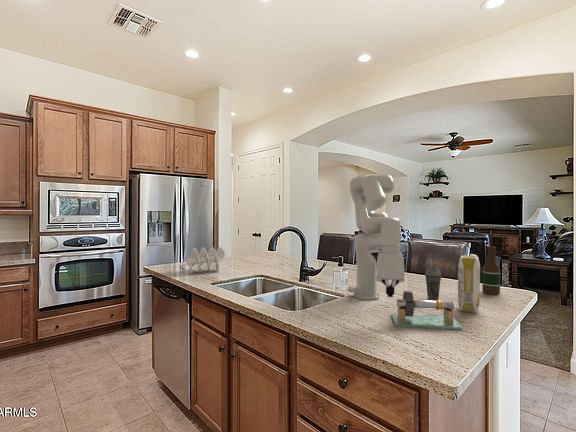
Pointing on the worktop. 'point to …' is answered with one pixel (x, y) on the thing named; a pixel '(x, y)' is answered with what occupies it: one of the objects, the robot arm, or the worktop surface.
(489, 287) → the beer bottle
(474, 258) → the juice carton
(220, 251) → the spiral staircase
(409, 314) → the ring
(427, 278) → the beverage cup
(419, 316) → the teal plate with rod
